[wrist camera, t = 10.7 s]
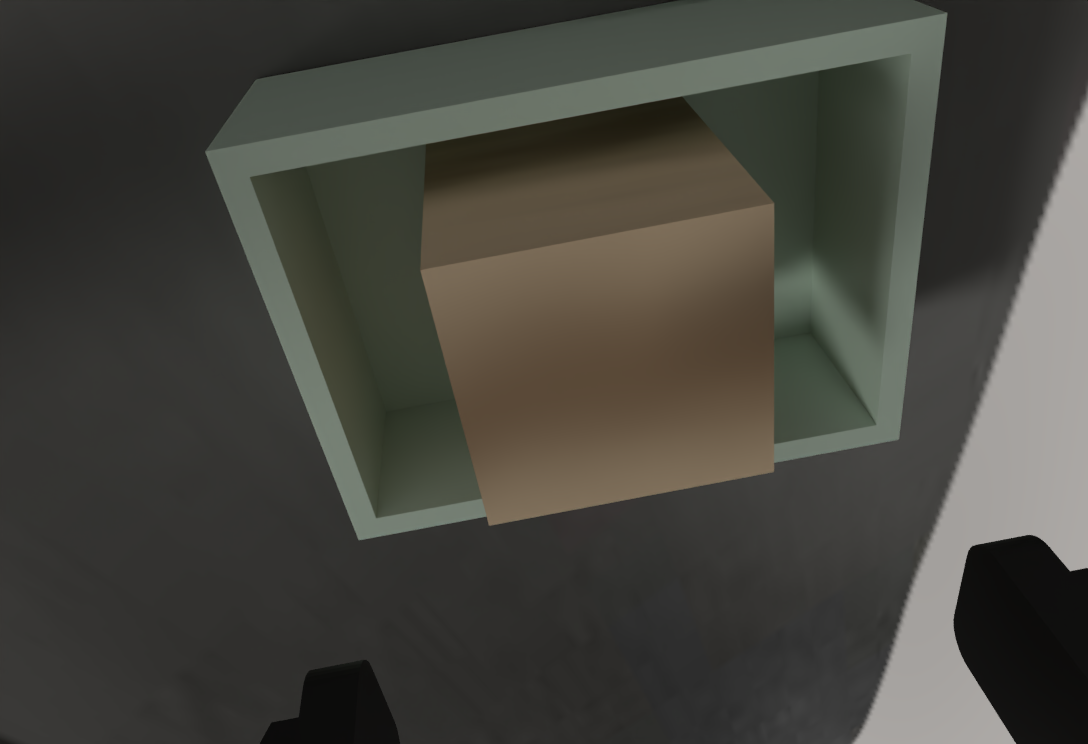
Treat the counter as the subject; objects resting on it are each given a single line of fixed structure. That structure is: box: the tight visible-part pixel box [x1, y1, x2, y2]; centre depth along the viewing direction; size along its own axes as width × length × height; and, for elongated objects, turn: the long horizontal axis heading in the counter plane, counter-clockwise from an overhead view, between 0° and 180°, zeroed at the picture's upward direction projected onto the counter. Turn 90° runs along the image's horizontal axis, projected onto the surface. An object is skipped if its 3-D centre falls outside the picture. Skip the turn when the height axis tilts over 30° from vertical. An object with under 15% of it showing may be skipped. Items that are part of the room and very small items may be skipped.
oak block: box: [420, 96, 774, 526], centre depth 18 cm, size 6×6×7 cm
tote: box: [205, 0, 947, 540], centre depth 20 cm, size 14×10×5 cm
